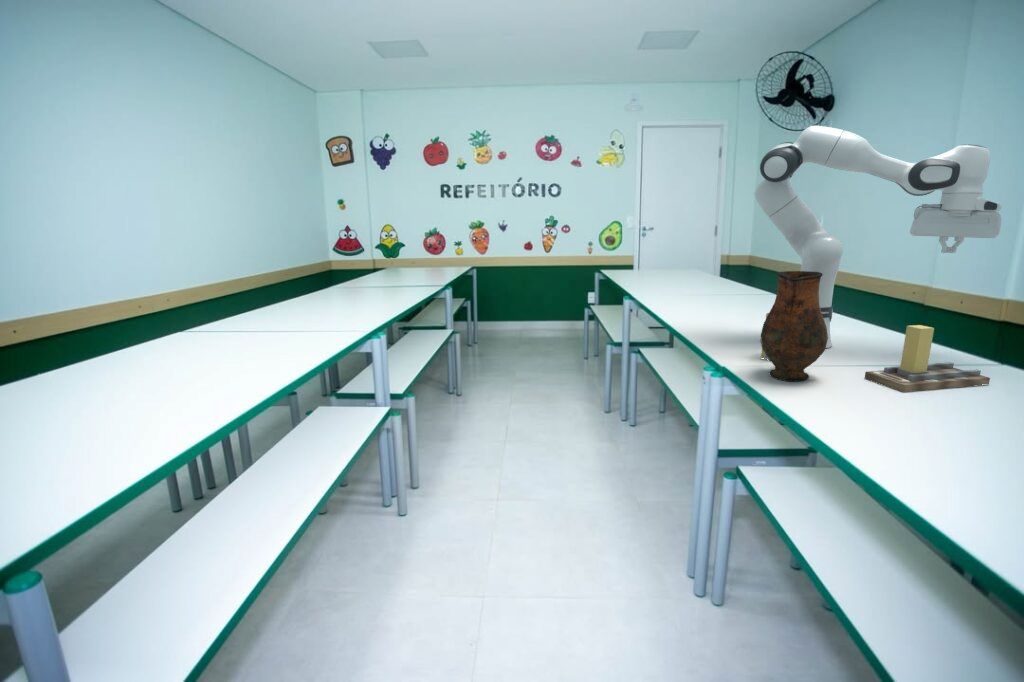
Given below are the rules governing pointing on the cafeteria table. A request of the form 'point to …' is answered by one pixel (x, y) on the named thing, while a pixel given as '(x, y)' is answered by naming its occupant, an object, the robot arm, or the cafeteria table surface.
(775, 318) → the brown vase
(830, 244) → the robot arm
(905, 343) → the slider tab
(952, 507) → the cafeteria table surface
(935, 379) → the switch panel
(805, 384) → the cafeteria table surface
